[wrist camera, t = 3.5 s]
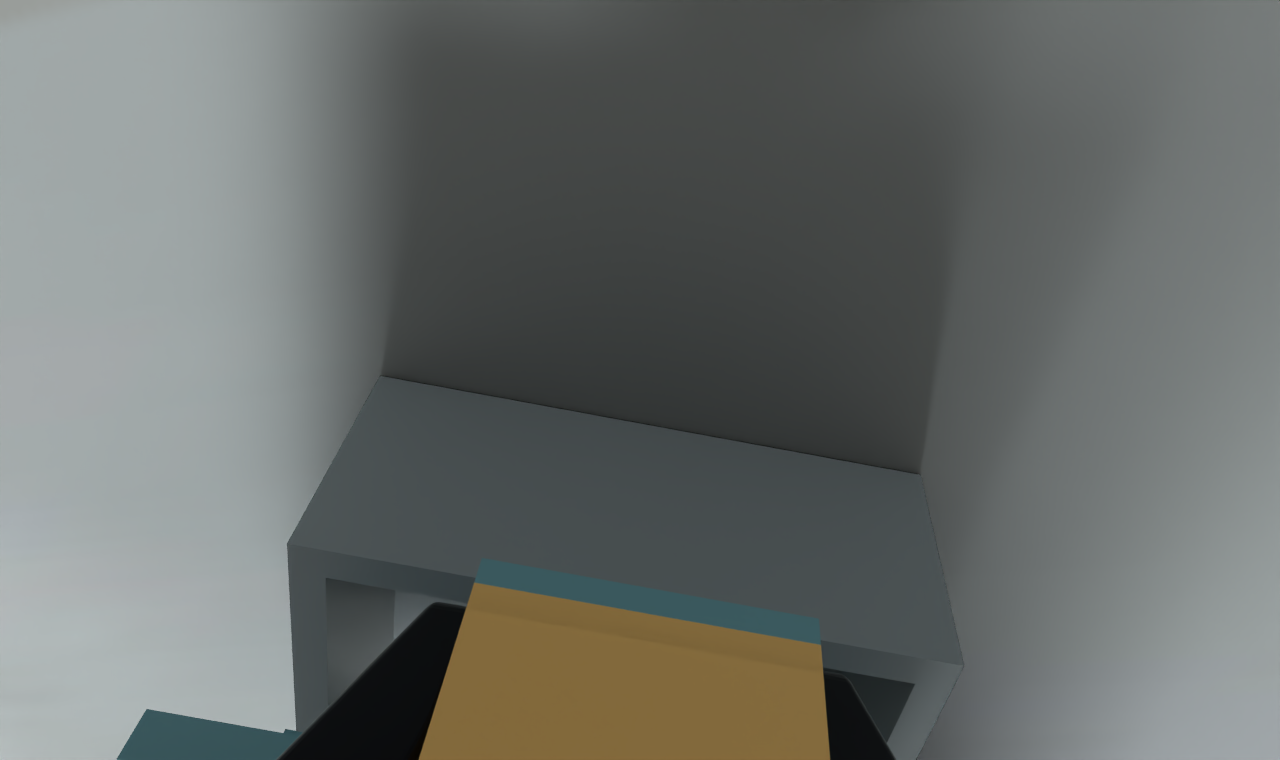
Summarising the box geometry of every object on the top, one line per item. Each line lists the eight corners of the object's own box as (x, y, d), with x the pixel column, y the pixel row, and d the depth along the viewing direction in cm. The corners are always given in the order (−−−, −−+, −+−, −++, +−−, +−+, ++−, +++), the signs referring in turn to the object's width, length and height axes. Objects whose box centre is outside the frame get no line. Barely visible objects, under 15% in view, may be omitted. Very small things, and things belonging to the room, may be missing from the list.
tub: (757, 872, 23) (759, 1065, 20) (372, 803, 23) (308, 986, 20) (921, 474, 17) (964, 666, 13) (380, 376, 16) (288, 543, 13)
